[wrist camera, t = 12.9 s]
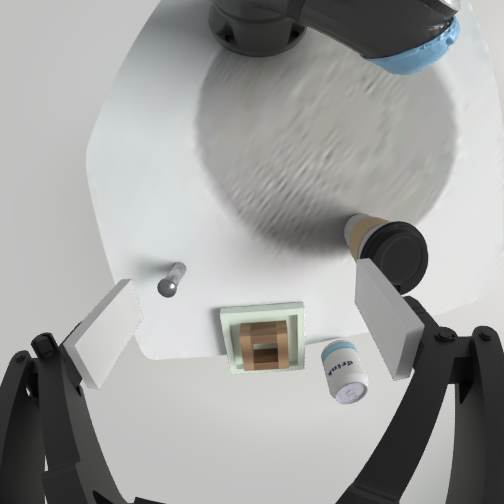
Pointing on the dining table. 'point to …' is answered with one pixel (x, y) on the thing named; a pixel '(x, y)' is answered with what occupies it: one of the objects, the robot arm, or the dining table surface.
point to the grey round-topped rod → (171, 280)
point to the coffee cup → (389, 249)
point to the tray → (264, 313)
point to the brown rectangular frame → (264, 335)
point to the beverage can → (344, 372)
